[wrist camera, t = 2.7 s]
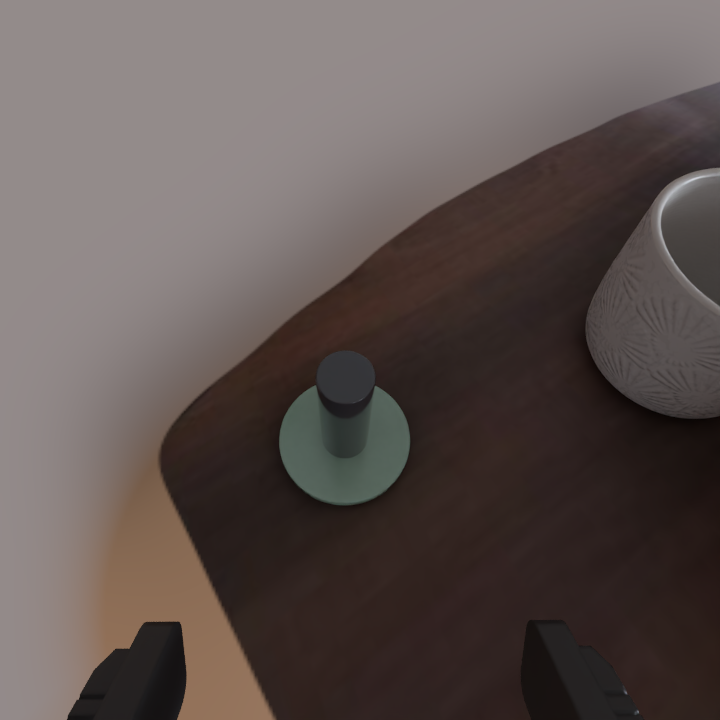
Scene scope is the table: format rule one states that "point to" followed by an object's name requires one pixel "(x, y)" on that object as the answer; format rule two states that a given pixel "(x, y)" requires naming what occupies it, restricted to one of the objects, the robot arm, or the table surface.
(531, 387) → the table surface
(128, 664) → the robot arm
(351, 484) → the green peg stand
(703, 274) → the planter
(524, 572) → the table surface
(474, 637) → the table surface
